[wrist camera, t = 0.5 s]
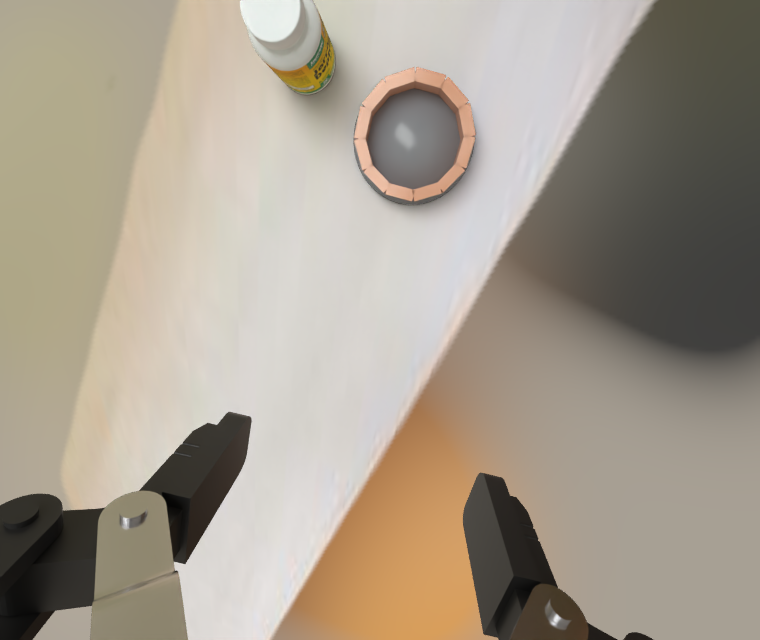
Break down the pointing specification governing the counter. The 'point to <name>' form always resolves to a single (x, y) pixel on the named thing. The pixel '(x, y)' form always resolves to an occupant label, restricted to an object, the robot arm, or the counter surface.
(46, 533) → the robot arm
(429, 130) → the ring tray
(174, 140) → the counter surface
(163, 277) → the counter surface
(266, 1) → the supplement bottle
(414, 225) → the counter surface
